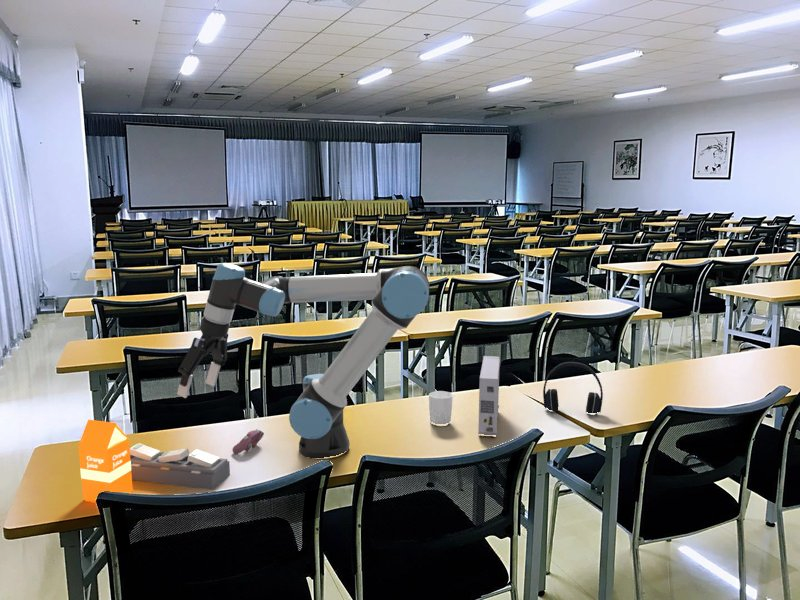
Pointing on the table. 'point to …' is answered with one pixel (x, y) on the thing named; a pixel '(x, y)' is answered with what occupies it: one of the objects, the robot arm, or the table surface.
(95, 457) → the orange juice
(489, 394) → the game console
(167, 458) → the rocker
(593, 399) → the headphones
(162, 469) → the power strip
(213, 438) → the table surface
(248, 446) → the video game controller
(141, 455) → the rocker
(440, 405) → the white cup
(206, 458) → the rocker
